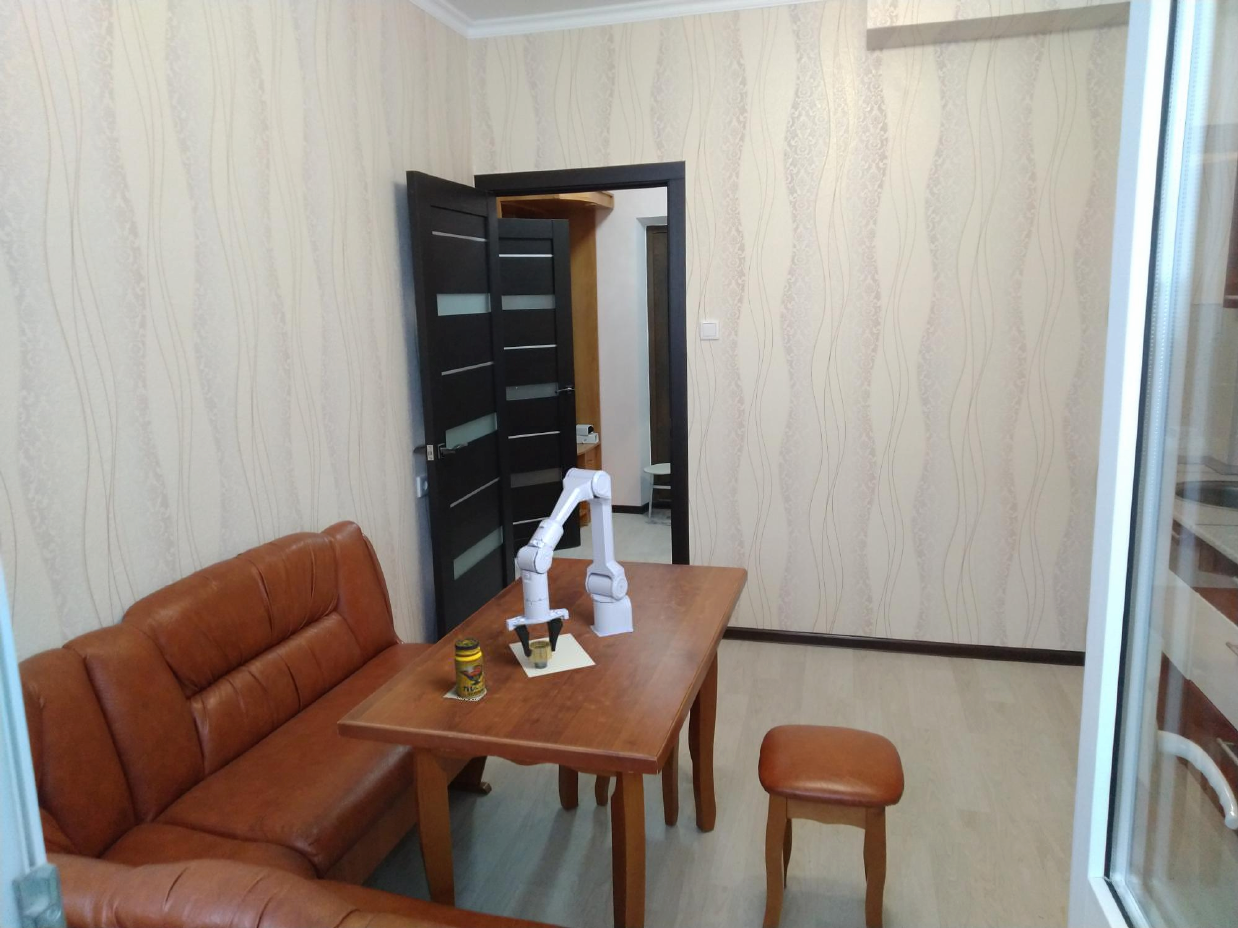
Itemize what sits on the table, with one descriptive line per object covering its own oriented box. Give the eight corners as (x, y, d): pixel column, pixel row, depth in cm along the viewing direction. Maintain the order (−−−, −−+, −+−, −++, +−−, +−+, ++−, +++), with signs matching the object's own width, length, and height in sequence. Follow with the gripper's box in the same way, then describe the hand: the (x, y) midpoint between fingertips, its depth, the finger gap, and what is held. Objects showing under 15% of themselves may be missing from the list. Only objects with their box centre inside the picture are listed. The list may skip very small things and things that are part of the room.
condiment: (477, 701, 184) (473, 649, 181) (442, 697, 186) (438, 646, 184) (492, 686, 190) (488, 636, 188) (458, 683, 193) (454, 633, 191)
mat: (570, 635, 218) (570, 633, 218) (595, 666, 199) (595, 664, 198) (508, 646, 213) (508, 644, 213) (529, 679, 193) (528, 676, 193)
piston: (545, 662, 200) (543, 644, 200) (548, 667, 198) (547, 649, 197) (533, 665, 200) (532, 647, 199) (536, 669, 197) (535, 651, 196)
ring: (547, 650, 202) (546, 638, 201) (555, 658, 197) (554, 646, 196) (525, 655, 200) (524, 643, 199) (532, 663, 195) (531, 651, 194)
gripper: (559, 586, 202) (563, 640, 205) (500, 597, 196) (505, 653, 199) (570, 595, 196) (573, 650, 198) (509, 606, 190) (513, 663, 192)
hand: (539, 652), depth 198 cm, fingers closed on ring, 6 cm apart
